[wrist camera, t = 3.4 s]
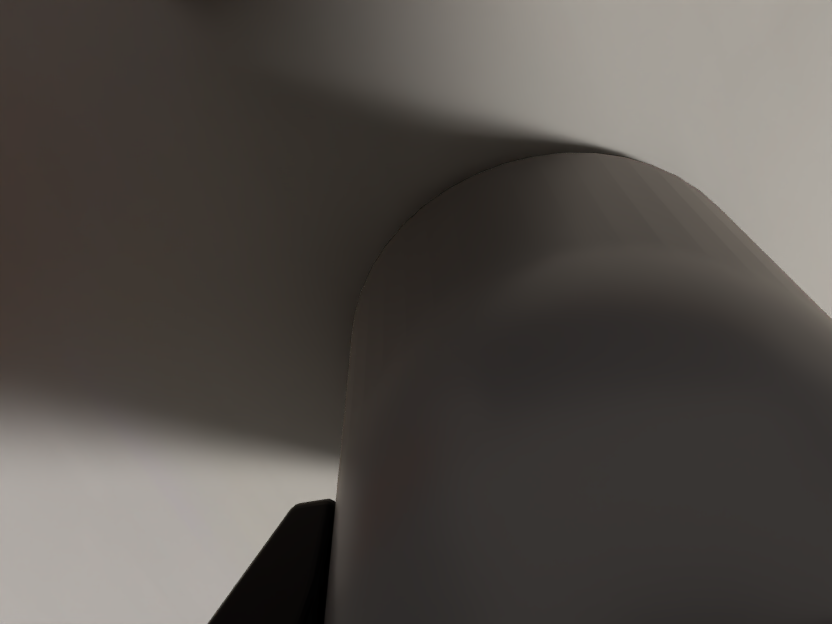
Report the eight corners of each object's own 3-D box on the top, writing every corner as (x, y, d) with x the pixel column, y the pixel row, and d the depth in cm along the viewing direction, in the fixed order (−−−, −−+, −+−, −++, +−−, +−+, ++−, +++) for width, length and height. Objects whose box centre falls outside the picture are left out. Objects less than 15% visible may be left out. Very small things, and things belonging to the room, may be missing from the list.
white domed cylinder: (758, 475, 11) (1233, 1241, 5) (389, 531, 11) (381, 1309, 5) (780, 102, 8) (1929, 744, 2) (295, 190, 8) (46, 963, 2)
